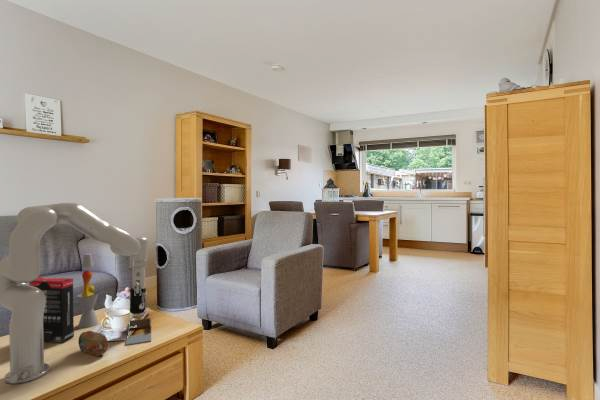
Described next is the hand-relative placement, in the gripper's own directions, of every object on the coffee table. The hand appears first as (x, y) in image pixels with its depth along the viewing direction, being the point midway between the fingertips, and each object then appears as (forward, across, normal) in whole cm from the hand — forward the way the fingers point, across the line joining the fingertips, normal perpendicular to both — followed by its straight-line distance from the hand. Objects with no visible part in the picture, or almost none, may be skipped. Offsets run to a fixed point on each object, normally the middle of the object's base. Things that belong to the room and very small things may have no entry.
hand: (137, 301), depth 161 cm
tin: (+15, -16, +16) cm, 27 cm away
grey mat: (+14, -9, -1) cm, 17 cm away
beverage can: (+5, 0, 0) cm, 5 cm away
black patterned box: (+14, +1, -1) cm, 14 cm away
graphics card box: (+15, +6, +34) cm, 38 cm away
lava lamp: (+15, +20, +22) cm, 34 cm away
